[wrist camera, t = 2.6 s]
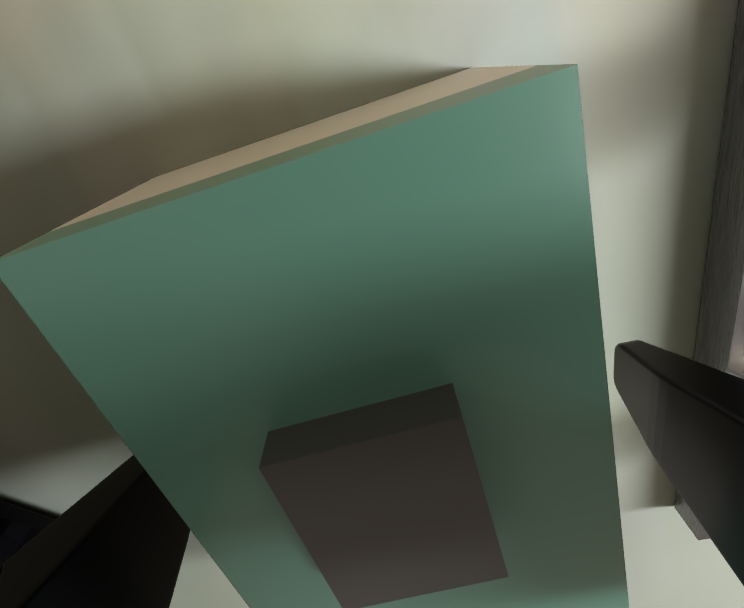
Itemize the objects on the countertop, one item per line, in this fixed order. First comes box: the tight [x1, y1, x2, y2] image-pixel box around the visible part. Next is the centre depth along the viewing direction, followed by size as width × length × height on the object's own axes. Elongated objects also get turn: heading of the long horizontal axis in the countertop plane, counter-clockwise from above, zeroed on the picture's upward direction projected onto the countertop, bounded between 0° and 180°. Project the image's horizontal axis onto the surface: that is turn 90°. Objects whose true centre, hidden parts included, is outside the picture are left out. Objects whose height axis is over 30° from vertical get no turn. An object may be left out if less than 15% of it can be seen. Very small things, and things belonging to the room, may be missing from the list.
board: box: [0, 64, 629, 608], centre depth 8 cm, size 11×6×5 cm, turn 18°
